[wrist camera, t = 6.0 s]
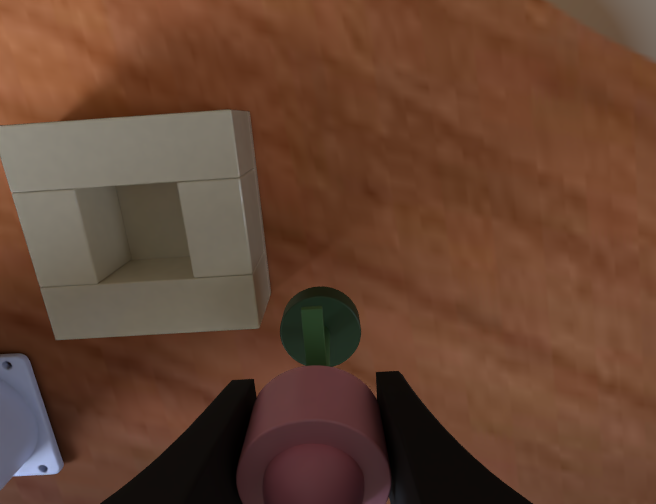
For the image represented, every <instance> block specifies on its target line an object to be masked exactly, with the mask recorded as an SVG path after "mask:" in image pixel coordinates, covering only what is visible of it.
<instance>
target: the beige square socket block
mask: <svg viewBox="0 0 656 504" xmlns="http://www.w3.org/2000/svg"><path fill="white" fill-rule="evenodd" d="M0 157H1V161H2V164H3V167H4V171H5V174H6V177H7V180H8V184H9V187H10V190H11V192H13V193H12V197H13V200H14V203H15V207H16V210H17V213H18V217H19V220H20V223H21V226H22V230H23V233H24V236H25V240H26V243H27V246H28V250H29V253H30V256H31V260H32V263H33V266H34V270H35V273H36V276H37V279H38V283H39V286H40V287H41V288H40V290H41V293H42V297H43V300H44V303H45V307H46V310H47V313H48V316H49V320H50V323H51V326H52V330H53V333H54V336H55V339H56V340H67V339H84V338H102V337H119V336H136V335H154V334H171V333H189V332H206V331H223V330H241V329H258V328H260V325H261V322H262V319H263V316H264V313H265V310H266V307H267V304H268V301H269V298H270V295H271V288H270V279H269V271H268V262H267V254H266V245H265V237H264V228H263V220H262V211H261V203H260V194H259V186H258V177H257V168H256V160H255V151H254V143H253V134H252V126H251V117H250V112H249V111H243V110H232V109H227V110H213V111H199V112H185V113H170V114H156V115H142V116H128V117H113V118H99V119H85V120H71V121H57V122H42V123H28V124H14V125H0Z"/></svg>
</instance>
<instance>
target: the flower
mask: <svg viewBox="0 0 656 504" xmlns="http://www.w3.org/2000/svg"><path fill="white" fill-rule="evenodd" d="M280 337H281V341H282V344H283V346H284V348H285V350H286V351H287V353H288V354H289V355H290V356H291V357H292V358H293V359H295V360H296V361H297V362H299V363H301V364H303V365H306V366H302V367H298V368H294V369H291V370H288V371H286V372H284V373H282V374H280V375H278V376H277V377H275V378H274V379H272V380H271V381H270V382H269V383H268V384H267V385H266V386H265V387H264V388H263V389H262V390H261V392H260V393H259V395H258V396H257V398H256V401H255V403H254V406H253V410H252V413H251V417H250V421H249V425H248V428H247V432H246V436H245V440H244V443H243V447H242V451H241V455H240V458H239V462H238V466H237V470H236V486H237V490H238V494H239V497H240V499H241V501H242V503H243V504H386V502H387V500H388V497H389V495H390V490H391V483H392V477H391V469H390V463H389V457H388V451H387V445H386V440H385V434H384V428H383V424H382V419H381V413H380V408H379V404H378V402H377V400H376V397H375V396H374V394H373V393H372V391H371V390H370V389H369V388H368V387H367V386H366V385H365V384H364V383H363V382H362V381H361V380H360V379H358V378H357V377H355V376H354V375H352V374H350V373H348V372H346V371H343V370H340V369H338V368H333V366H336V365H339V364H341V363H343V362H344V361H346V360H347V359H348V358H349V357H350V356H351V355H352V354H353V353H354V352H355V350H356V349H357V347H358V345H359V342H360V337H361V327H360V320H359V314H358V310H357V308H356V306H355V304H354V303H353V302H352V300H351V299H350V298H349V297H348V296H347V295H345V294H344V293H342V292H341V291H339V290H336V289H334V288H330V287H312V288H308V289H305V290H303V291H301V292H299V293H298V294H296V295H295V296H294V297H293V298H292V299H291V300H290V301H289V302H288V304H287V306H286V308H285V310H284V313H283V317H282V322H281V326H280Z"/></svg>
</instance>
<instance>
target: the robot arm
mask: <svg viewBox="0 0 656 504" xmlns="http://www.w3.org/2000/svg"><path fill="white" fill-rule="evenodd" d="M8 362H10V363H11V365H10V364H9V363H8ZM376 385H377V402H378V404H379V408H380V413H381V419H382V424H383V428H384V434H385V440H386V445H387V451H388V457H389V463H390V469H391V477H392V483H391V490H390V495H389V498H390V502H391V504H533V503H531V502H530V501H528V500H527V499H526V498H524V497H523V496H522V495H520V494H519V493H517V492H516V491H515V490H513V489H512V488H511V487H509V486H508V485H507V484H505V483H504V482H502V481H501V480H500V479H499V478H498V477H496V476H495V475H494V474H493V473H491V472H490V471H489V470H488V469H487V468H486V467H484V466H483V465H482V464H481V463H480V462H479V461H478V460H476V459H475V458H474V457H473V456H472V455H471V454H470V453H469V452H468V451H467V450H466V449H465V448H464V447H463V446H461V445H460V444H459V443H458V442H457V440H456V439H455V438H454V437H453V436H452V435H451V434H450V433H449V432H448V431H447V430H446V429H445V428H444V427H443V426H442V425H441V424H440V423H439V421H438V420H437V419H436V418H435V417H434V416H433V414H432V413H431V412H430V411H429V410H428V409H427V407H426V406H425V405H424V404H423V403H422V401H421V400H420V399H419V397H418V396H417V395H416V394H415V392H414V391H413V390H412V388H411V387H410V385H409V384H408V383H407V381H406V380H405V378H404V377H403V375H402V374H401V373H400V372H399V371H389V372H376ZM255 401H256V391H255V384H254V379H245V380H232V381H231V382H230V383H229V384H228V385H227V386H226V387H225V388H224V389H223V391H222V392H221V393H220V394H219V395H218V396H217V397H216V398H215V399H214V401H213V402H212V403H211V404H210V405H209V406H208V407H207V408H206V409H205V411H204V412H203V413H202V414H201V415H200V416H199V417H198V418H197V419H196V420H195V421H194V422H193V423H192V424H191V426H190V427H189V428H188V429H187V430H186V431H185V432H184V433H183V434H182V435H181V436H180V437H179V438H178V439H177V440H176V441H175V442H174V443H173V444H171V445H170V446H169V447H168V448H167V449H166V450H165V451H164V452H163V453H162V454H161V455H160V456H159V457H158V458H157V459H156V460H155V461H153V462H152V463H151V464H150V465H149V466H148V467H146V468H145V469H144V470H143V471H142V472H141V473H139V474H138V475H137V476H136V477H134V478H133V479H132V480H131V481H130V482H128V483H127V484H126V485H125V486H123V487H122V488H121V489H119V490H118V491H117V492H115V493H114V494H113V495H111V496H110V497H109V498H107V499H106V500H104V501H103V502H102V503H100V504H243V503H242V501H241V499H240V497H239V494H238V490H237V486H236V470H237V466H238V462H239V458H240V455H241V451H242V447H243V443H244V440H245V436H246V432H247V428H248V425H249V421H250V417H251V413H252V410H253V406H254V403H255ZM63 466H64V464H63V460H62V457H61V454H60V451H59V448H58V445H57V442H56V439H55V436H54V433H53V430H52V427H51V424H50V421H49V418H48V415H47V412H46V409H45V406H44V403H43V400H42V397H41V394H40V390H39V387H38V384H37V381H36V378H35V375H34V372H33V369H32V366H31V363H30V360H29V359H28V357H27V356H25V355H23V354H20V353H15V354H0V490H1V489H2V488H3V487H4V486H5V485H6V484H7V482H8V481H9V480H10V479H11V478H12V477H13V476H28V475H48V474H57V473H59V472H60V471H61V469H62V468H63Z"/></svg>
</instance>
